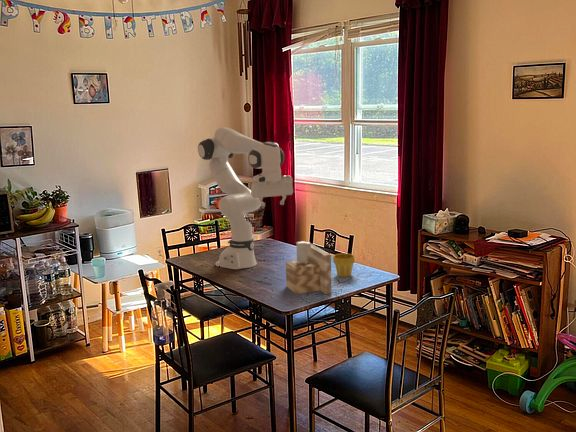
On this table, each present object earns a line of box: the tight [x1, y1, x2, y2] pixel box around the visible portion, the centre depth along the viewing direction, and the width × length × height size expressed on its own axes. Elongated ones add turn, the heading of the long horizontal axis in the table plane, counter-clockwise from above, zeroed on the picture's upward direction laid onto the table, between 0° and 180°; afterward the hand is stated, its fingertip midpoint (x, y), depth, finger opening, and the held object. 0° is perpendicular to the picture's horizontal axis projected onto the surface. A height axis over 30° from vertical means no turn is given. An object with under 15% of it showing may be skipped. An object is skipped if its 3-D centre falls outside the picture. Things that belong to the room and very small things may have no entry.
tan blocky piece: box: [285, 243, 333, 295], centre depth 266 cm, size 15×24×18 cm, turn 20°
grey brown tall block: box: [295, 240, 312, 266], centre depth 265 cm, size 6×3×14 cm, turn 111°
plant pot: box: [333, 252, 355, 278], centre depth 285 cm, size 10×10×10 cm
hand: (272, 205), depth 274 cm, fingers open, 8 cm apart
